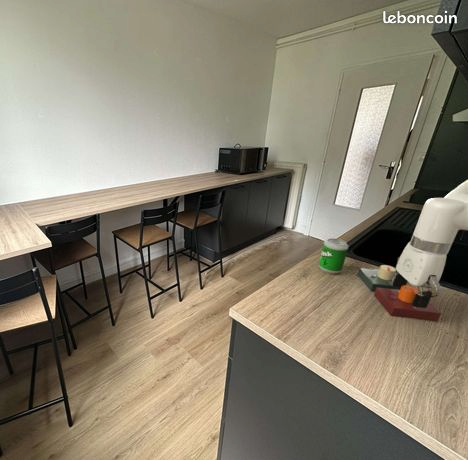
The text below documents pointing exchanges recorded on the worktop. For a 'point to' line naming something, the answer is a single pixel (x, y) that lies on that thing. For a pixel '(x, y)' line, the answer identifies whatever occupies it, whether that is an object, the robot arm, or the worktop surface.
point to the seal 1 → (386, 272)
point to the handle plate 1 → (376, 280)
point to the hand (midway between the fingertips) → (407, 295)
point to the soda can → (333, 255)
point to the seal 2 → (407, 293)
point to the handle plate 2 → (404, 306)
